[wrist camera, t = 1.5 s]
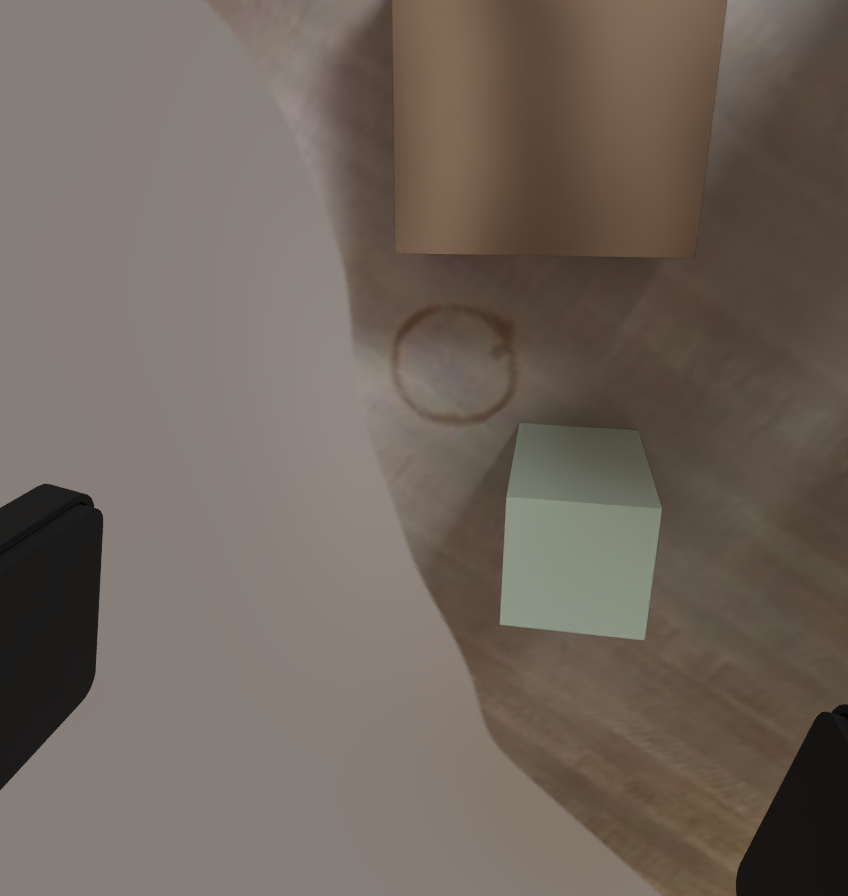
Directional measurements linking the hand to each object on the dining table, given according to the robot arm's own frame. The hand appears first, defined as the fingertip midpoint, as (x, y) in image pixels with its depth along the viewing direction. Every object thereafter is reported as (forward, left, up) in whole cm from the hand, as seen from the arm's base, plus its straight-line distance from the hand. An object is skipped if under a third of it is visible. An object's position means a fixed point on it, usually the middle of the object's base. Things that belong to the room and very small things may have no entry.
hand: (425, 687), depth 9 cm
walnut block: (-1, -9, -23) cm, 25 cm away
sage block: (-3, +6, -23) cm, 24 cm away
